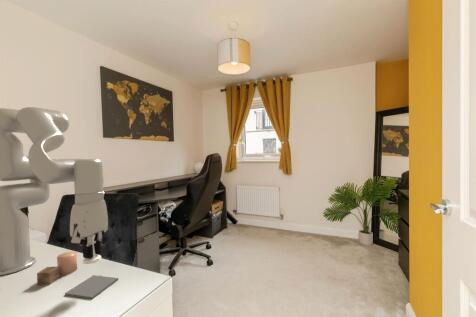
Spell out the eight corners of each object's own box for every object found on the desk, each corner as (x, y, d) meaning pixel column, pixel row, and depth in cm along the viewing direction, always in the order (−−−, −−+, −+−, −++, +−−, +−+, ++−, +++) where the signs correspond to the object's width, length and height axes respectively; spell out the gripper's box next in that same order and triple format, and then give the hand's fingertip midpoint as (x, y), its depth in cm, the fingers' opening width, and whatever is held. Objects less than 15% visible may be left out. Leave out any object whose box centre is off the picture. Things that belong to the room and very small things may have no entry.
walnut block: (37, 285, 72) (36, 273, 72) (47, 278, 76) (47, 267, 76) (50, 284, 72) (49, 272, 72) (59, 277, 76) (59, 266, 76)
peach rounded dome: (53, 274, 78) (53, 257, 78) (69, 266, 84) (68, 250, 84) (65, 276, 77) (65, 259, 77) (80, 268, 82) (80, 252, 82)
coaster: (64, 295, 66) (64, 293, 66) (93, 276, 76) (93, 275, 76) (92, 299, 64) (92, 297, 64) (118, 279, 74) (118, 278, 74)
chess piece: (92, 264, 67) (91, 231, 67) (78, 263, 68) (77, 231, 68) (105, 257, 72) (104, 226, 72) (92, 256, 73) (91, 226, 73)
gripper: (100, 193, 78) (102, 244, 78) (54, 203, 63) (57, 267, 63) (118, 193, 77) (120, 246, 77) (75, 203, 61) (78, 269, 61)
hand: (92, 255), depth 70 cm, fingers closed on chess piece
